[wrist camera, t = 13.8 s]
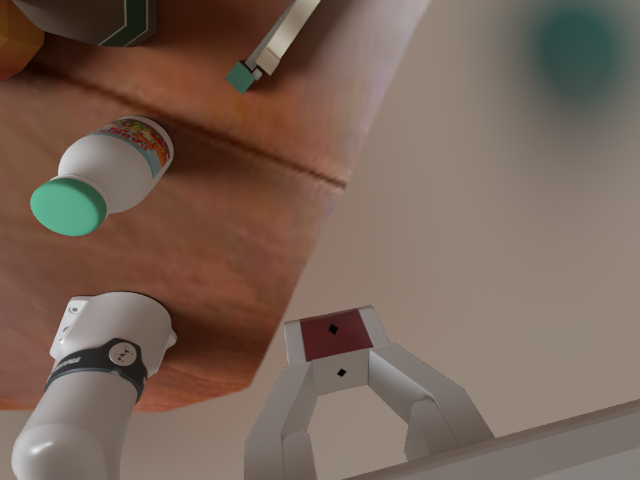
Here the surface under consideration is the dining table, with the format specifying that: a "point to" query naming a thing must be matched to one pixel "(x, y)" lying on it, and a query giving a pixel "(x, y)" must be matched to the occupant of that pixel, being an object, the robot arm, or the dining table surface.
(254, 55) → the grey metal rod
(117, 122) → the milk bottle
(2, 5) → the pumpkin
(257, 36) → the dining table surface
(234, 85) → the dark green brushed box
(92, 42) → the beer bottle
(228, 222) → the dining table surface
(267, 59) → the grey rectangular bar
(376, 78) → the dining table surface
